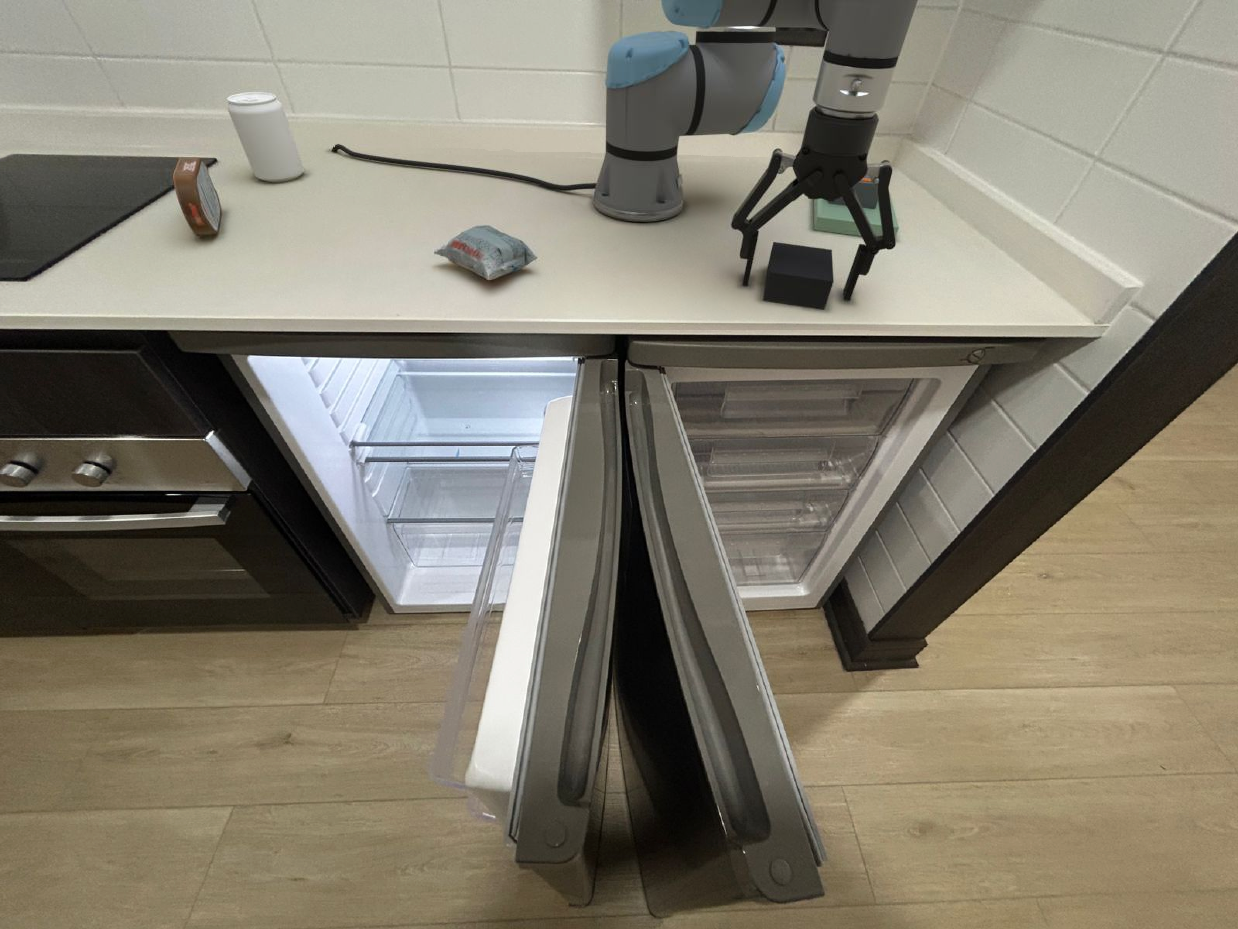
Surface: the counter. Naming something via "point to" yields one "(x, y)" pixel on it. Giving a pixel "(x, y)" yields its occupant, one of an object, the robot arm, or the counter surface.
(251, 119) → the beverage can
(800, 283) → the loose pad
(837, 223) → the green tray
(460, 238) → the packaged food
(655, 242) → the counter surface
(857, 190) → the pad
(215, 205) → the tin
